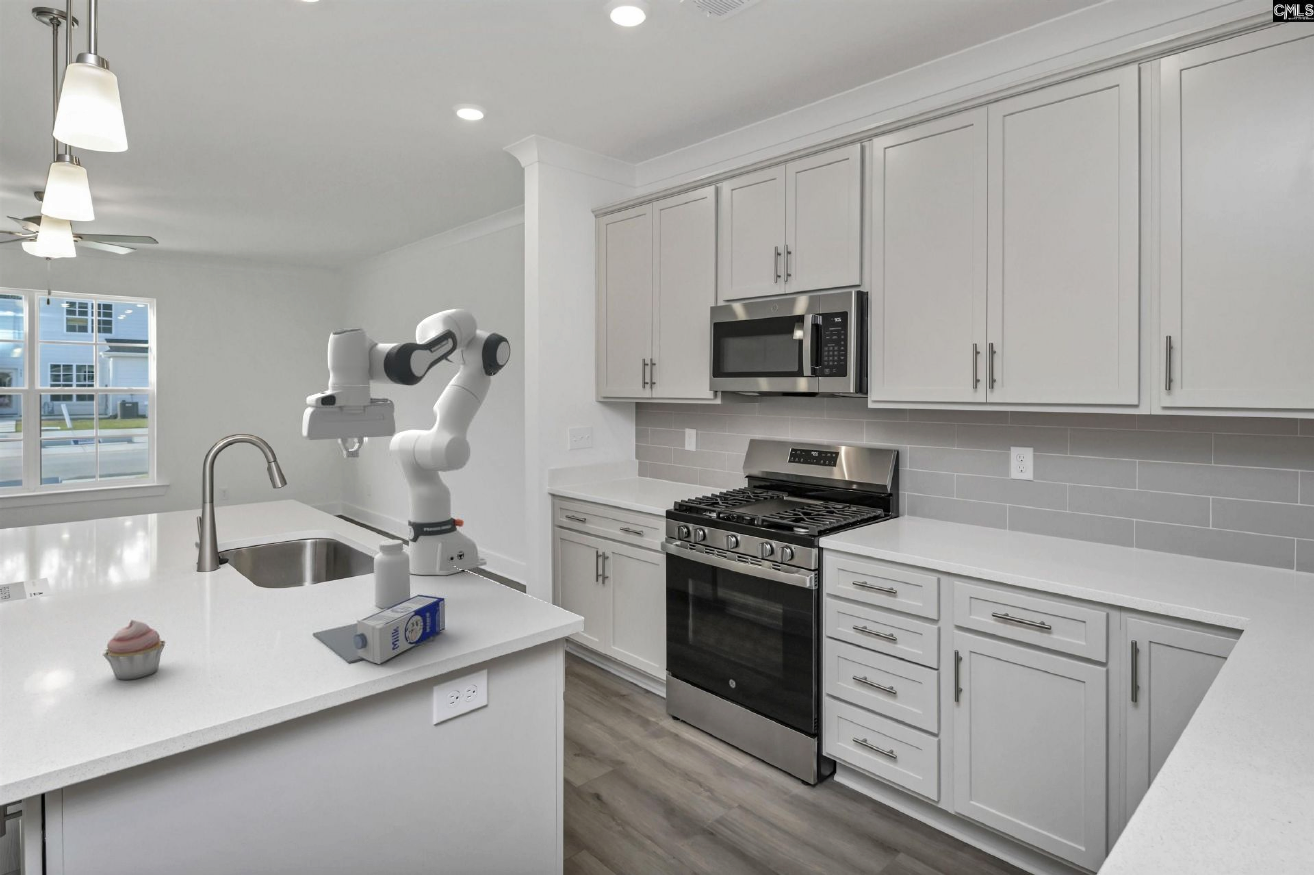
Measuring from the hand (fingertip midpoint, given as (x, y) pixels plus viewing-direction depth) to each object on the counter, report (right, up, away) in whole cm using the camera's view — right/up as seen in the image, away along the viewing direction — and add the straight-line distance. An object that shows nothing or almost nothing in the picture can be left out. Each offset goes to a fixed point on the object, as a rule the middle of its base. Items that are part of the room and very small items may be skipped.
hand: (351, 457), depth 166 cm
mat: (+12, -37, -18) cm, 43 cm away
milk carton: (+23, -33, -13) cm, 42 cm away
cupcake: (-23, -38, -37) cm, 58 cm away
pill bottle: (+8, -35, +4) cm, 36 cm away
